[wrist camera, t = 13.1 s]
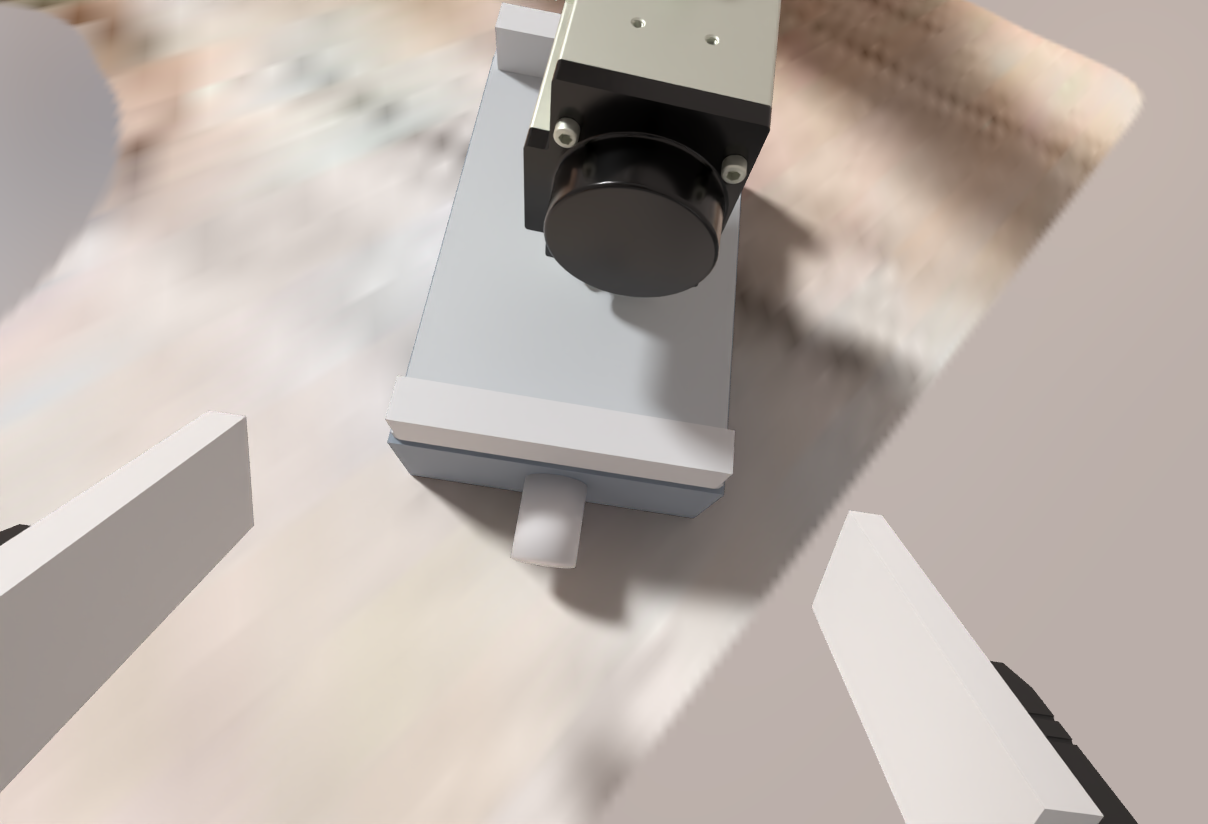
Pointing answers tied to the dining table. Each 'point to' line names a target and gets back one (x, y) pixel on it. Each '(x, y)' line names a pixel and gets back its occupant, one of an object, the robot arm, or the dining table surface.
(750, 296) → the dining table surface
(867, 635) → the robot arm
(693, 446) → the grey piece
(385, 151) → the dining table surface
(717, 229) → the pneumatic valve
